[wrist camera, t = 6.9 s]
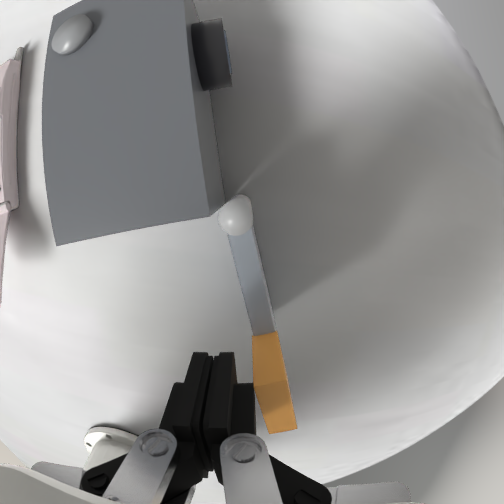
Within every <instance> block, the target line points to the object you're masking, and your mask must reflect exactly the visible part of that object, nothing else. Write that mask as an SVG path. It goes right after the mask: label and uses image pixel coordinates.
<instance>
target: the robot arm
mask: <svg viewBox="0 0 504 504" xmlns="http://www.w3.org/2000/svg"><path fill="white" fill-rule="evenodd" d="M84 444H85V447H86V449H87V450H88V452H89V453H90V455H89V457H88V459H87V461H86V463H85V465H84V467H83V468H79V467H72V466H65V465H59V464H54V463H49V462H38V463H36V464H34V465H33V466H32V468H31V469H29V468H26V467H22V466H18V465H13V464H0V504H190V503H191V500H192V498H193V495H194V492H195V488H196V484H197V483H199V482H201V481H202V478H208V472H209V471H213V470H215V473H216V476H217V479H218V482H219V483H221V484H222V485H223V486H224V492H225V499H226V504H425V503H415V502H411V496H410V491H409V488H408V487H407V486H406V485H405V484H403V483H400V482H384V483H374V484H360V485H338V487H325V486H323V485H322V484H320V483H318V482H316V481H314V480H312V479H310V478H308V477H307V476H305V475H303V474H301V473H299V472H298V471H296V470H294V469H292V468H291V467H289V466H287V465H286V464H284V463H282V462H281V461H279V460H277V459H276V458H274V457H272V456H271V455H269V454H268V450H267V446H266V444H265V442H264V441H263V440H262V439H261V438H260V437H258V436H256V415H255V394H254V383H239V384H237V377H236V368H235V358H234V352H220V354H219V356H215V357H214V360H213V356H208V353H207V352H194V353H193V355H192V358H191V362H190V365H189V368H188V371H187V375H186V378H185V381H184V383H178V382H176V383H174V385H173V388H172V391H171V394H170V397H169V400H168V403H167V406H166V409H165V412H164V415H163V418H162V421H161V424H160V427H159V429H151V430H148V431H145V432H143V433H142V434H140V435H139V437H138V436H136V435H134V434H131V433H128V432H125V431H122V430H119V429H115V428H109V427H95V428H92V429H90V430H89V431H88V432H87V433H86V435H85V437H84Z"/></svg>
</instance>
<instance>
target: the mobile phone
mask: <svg viewBox="0 0 504 504" xmlns="http://www.w3.org/2000/svg"><path fill="white" fill-rule="evenodd" d="M22 54H23V48H22V47H19V48H18V49H17V51H16V55H15V58H14V60H13V59H9V60H7V61H6V62H5V63H3V64H2V65H1V66H0V307H1V291H2V277H3V266H4V254H5V245H6V237H7V230H8V223H9V218H10V211H11V210H14V209H16V208H17V207H18V206H19V195H18V181H17V116H18V102H19V92H20V69H21V63H22V62H21V60H22Z"/></svg>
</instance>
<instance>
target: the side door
mask: <svg viewBox="0 0 504 504" xmlns="http://www.w3.org/2000/svg"><path fill="white" fill-rule="evenodd" d="M218 222H219V225H220V227H221V229H222V230H223V231H224V232H226V233H227V234H228V238H229V242H230V246H231V250H232V254H233V258H234V262H235V266H236V270H237V274H238V277H239V281H240V285H241V289H242V293H243V297H244V300H245V304H246V308H247V312H248V316H249V319H250V323H251V327H252V331H253V334H254V335H253V336H252V355H253V383H254V390H255V393H256V396H257V399H258V402H259V405H260V408H261V411H262V414H263V417H264V420H265V423H266V426H267V429H268V432H269V434H273V433H279V432H284V431H289V430H294V429H297V424H296V419H295V414H294V408H293V403H292V398H291V393H290V388H289V383H288V377H287V373H286V368H285V364H284V359H283V355H282V350H281V346H280V341H279V337H278V332H277V330H276V325H275V320H274V314H273V310H272V305H271V301H270V297H269V292H268V288H267V283H266V279H265V275H264V270H263V266H262V262H261V257H260V253H259V248H258V244H257V240H256V235H255V231H254V227H253V212H252V206H251V201H250V199H249V198H248V197H247V196H246V195H243V194H238V195H236V196H234V197H233V198H232V199H231V200H230V201H228V202H227V203H226V204H225V205H224V206H223V207H222V208H221V209H220V211H219V215H218Z"/></svg>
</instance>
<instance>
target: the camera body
mask: <svg viewBox="0 0 504 504" xmlns="http://www.w3.org/2000/svg"><path fill="white" fill-rule="evenodd" d="M230 74H232V71H231V64H230V57H229V51H228V44H227V38H226V32H225V30H223V24H222V18H221V19H215V20H209V21H203V22H200V21H199V18H198V15H197V11H196V8H195V5H194V2H193V0H82V1H80V2H78V3H76V4H74V5H72V6H70V7H68V8H67V9H65V10H63V11H61V12H60V13H58V14H56V15H54V16H53V21H52V25H51V30H50V35H49V41H48V47H47V54H46V62H45V71H44V82H43V97H42V145H43V162H44V173H45V183H46V191H47V198H48V205H49V211H50V217H51V223H52V228H53V233H54V238H55V242H56V246H60V245H64V244H68V243H73V242H77V241H82V240H87V239H91V238H96V237H101V236H106V235H110V234H115V233H120V232H125V231H131V230H136V229H141V228H146V227H152V226H157V225H163V224H168V223H174V222H180V221H186V220H191V219H197V218H204V217H210V216H211V215H212V214H214V213H215V212H216V211H217V210H218V209H219V208H221V207H222V206H223V205H224V204H225V203H226V202H225V196H224V189H223V182H222V176H221V169H220V162H219V155H218V148H217V141H216V134H215V127H214V120H213V113H212V105H211V98H210V90H213V89H219V88H225V87H231V86H232V82H231V75H230Z"/></svg>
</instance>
